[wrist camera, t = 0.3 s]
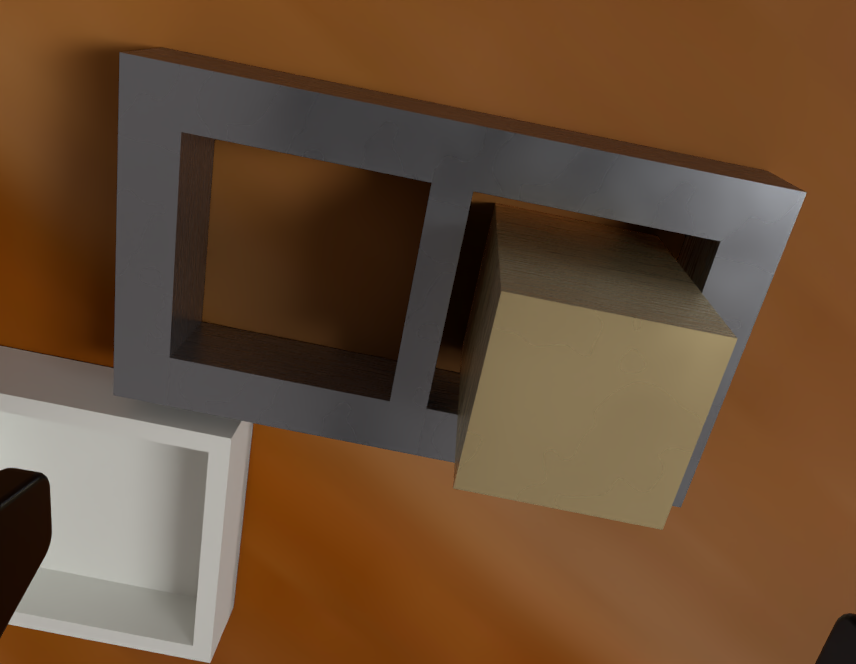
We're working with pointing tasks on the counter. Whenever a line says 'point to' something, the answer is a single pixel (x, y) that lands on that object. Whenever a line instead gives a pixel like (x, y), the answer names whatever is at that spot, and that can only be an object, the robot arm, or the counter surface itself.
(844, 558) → the counter surface
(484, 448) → the block
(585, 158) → the grey rectangular frame
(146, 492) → the parts tray
